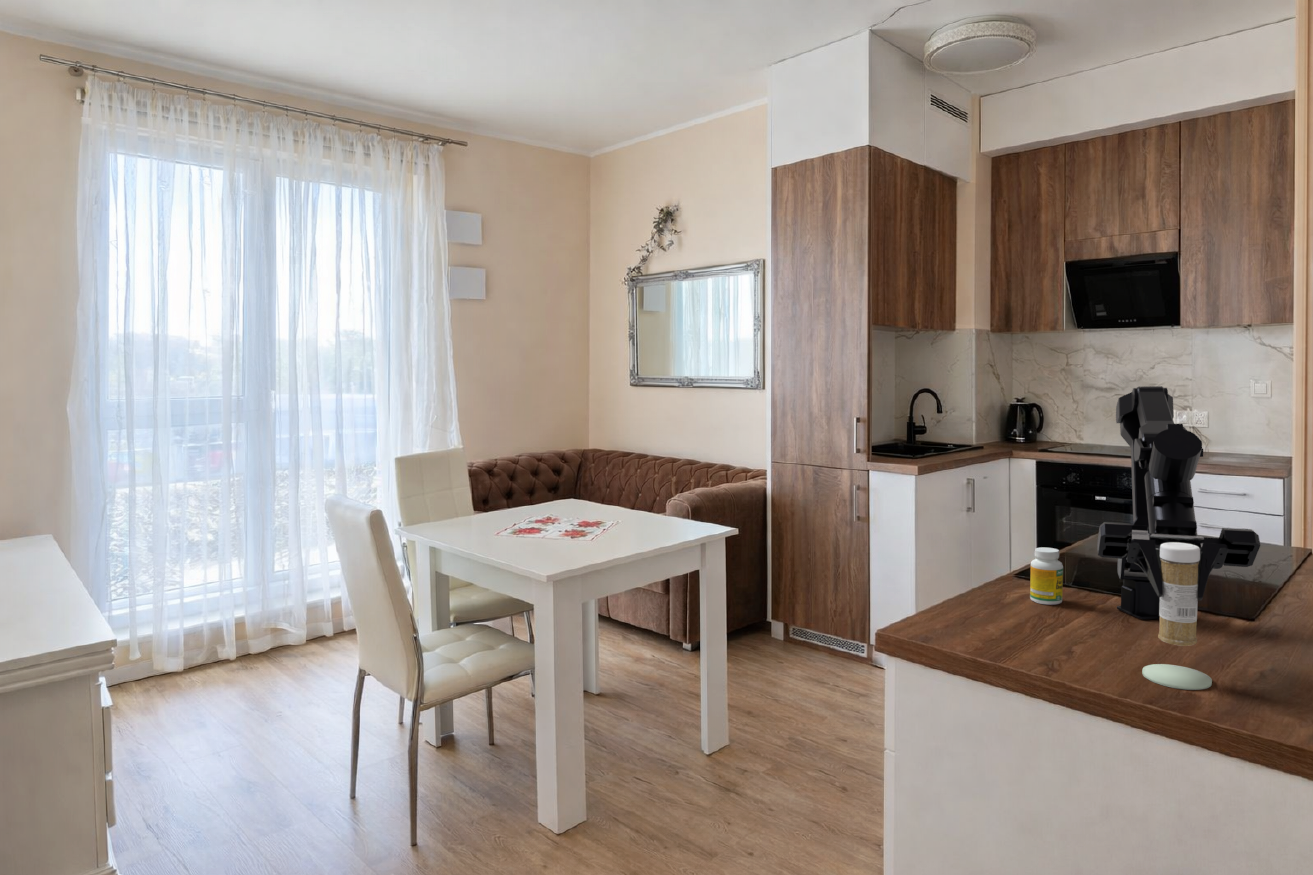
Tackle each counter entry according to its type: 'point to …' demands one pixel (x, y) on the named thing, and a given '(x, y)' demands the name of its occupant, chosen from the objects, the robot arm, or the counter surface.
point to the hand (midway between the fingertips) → (1180, 597)
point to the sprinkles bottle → (1179, 593)
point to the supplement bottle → (1046, 577)
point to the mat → (1177, 676)
